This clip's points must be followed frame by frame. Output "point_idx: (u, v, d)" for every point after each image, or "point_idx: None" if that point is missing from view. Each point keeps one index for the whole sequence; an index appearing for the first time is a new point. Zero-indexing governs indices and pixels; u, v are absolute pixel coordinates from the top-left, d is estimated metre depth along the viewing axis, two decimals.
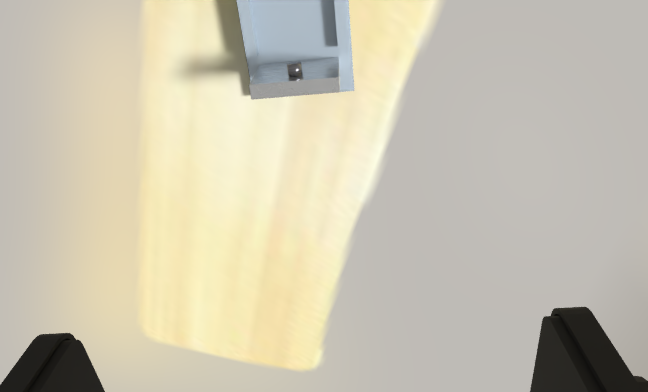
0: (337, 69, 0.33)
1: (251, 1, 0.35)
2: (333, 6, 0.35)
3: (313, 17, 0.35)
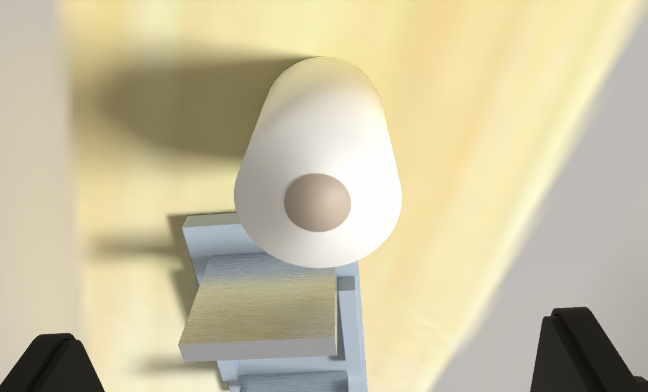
0: None
1: None
2: (341, 324, 0.25)
3: None
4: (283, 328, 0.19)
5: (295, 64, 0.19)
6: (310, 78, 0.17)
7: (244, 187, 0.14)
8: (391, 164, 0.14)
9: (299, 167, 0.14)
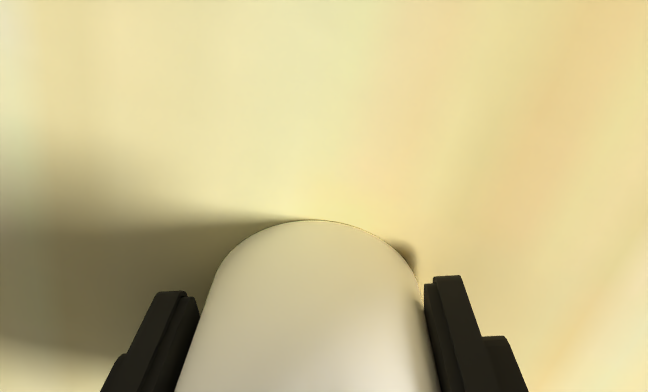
0: None
1: None
2: None
3: None
4: None
5: (262, 235, 0.10)
6: (283, 309, 0.08)
7: None
8: None
9: None
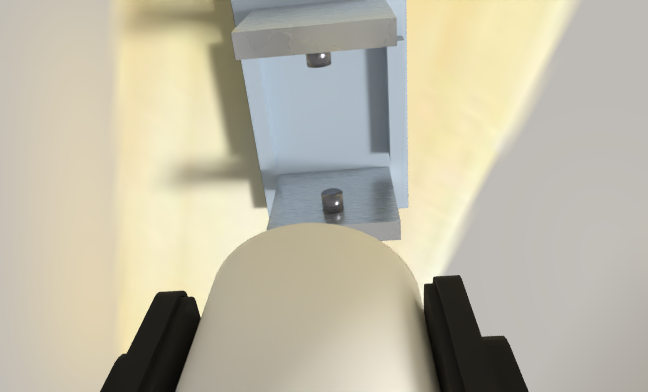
0: (393, 199, 0.23)
1: (268, 95, 0.24)
2: (385, 102, 0.24)
3: (355, 116, 0.25)
4: (340, 19, 0.18)
5: (262, 237, 0.10)
6: (283, 313, 0.08)
7: None
8: None
9: None
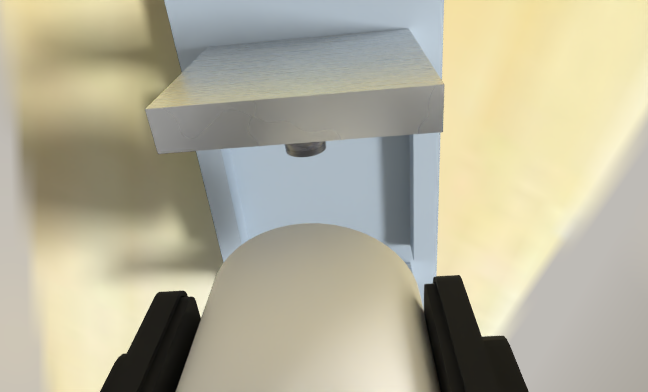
0: None
1: (235, 168, 0.17)
2: (406, 178, 0.17)
3: (362, 197, 0.17)
4: (341, 84, 0.10)
5: (262, 238, 0.10)
6: (283, 314, 0.08)
7: None
8: None
9: None
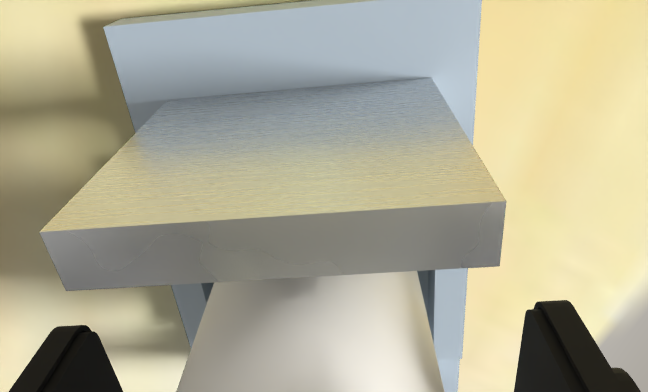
0: None
1: None
2: None
3: None
4: (343, 190, 0.07)
5: None
6: None
7: None
8: None
9: None
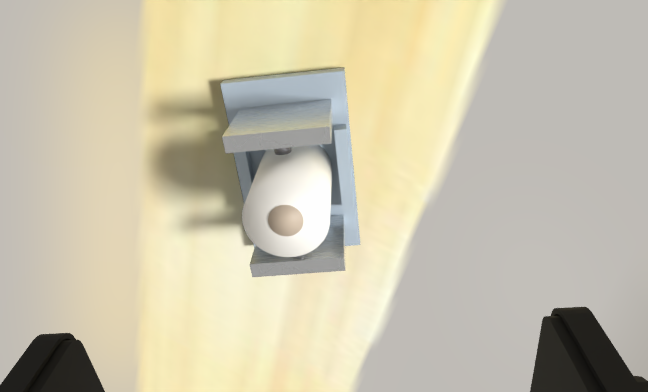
0: (342, 240, 0.32)
1: (252, 165, 0.33)
2: (337, 169, 0.33)
3: None
4: (294, 126, 0.27)
5: None
6: None
7: (247, 212, 0.27)
8: (322, 199, 0.27)
9: (275, 201, 0.27)
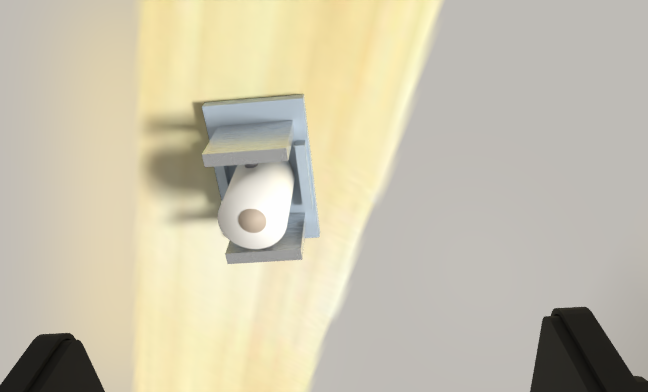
0: (301, 235, 0.39)
1: (229, 172, 0.41)
2: (299, 176, 0.41)
3: None
4: (259, 147, 0.34)
5: None
6: None
7: (221, 214, 0.34)
8: (281, 205, 0.34)
9: (244, 206, 0.34)
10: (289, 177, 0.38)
